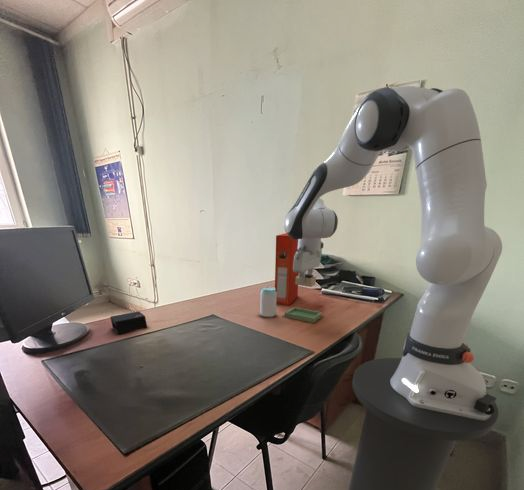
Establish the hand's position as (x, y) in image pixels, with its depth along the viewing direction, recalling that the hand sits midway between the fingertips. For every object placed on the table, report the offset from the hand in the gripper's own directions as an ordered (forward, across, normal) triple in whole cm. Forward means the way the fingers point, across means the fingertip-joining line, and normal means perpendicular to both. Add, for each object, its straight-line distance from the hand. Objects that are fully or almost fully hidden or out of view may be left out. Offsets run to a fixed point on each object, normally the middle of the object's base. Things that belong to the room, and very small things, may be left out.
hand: (305, 280), depth 117 cm
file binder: (+16, +20, +18) cm, 32 cm away
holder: (+16, +1, 0) cm, 16 cm away
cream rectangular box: (+2, 0, 0) cm, 2 cm away
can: (+16, -6, +14) cm, 23 cm away
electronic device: (+17, -49, +51) cm, 73 cm away
